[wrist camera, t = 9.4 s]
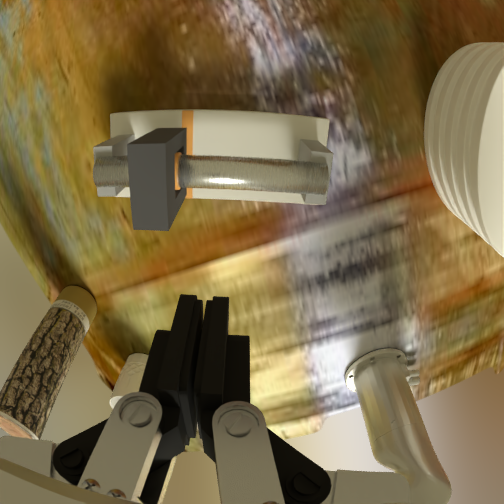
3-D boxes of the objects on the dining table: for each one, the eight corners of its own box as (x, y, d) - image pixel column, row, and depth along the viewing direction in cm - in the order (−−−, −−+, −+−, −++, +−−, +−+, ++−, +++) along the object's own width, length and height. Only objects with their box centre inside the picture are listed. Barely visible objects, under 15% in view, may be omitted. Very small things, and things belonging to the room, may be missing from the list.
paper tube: (56, 284, 43) (-20, 407, 21) (88, 281, 43) (13, 419, 21) (73, 317, 46) (13, 439, 25) (104, 315, 46) (48, 450, 24)
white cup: (116, 353, 51) (100, 397, 42) (151, 347, 50) (138, 394, 41) (138, 379, 54) (126, 422, 46) (173, 375, 53) (164, 420, 45)
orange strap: (193, 110, 30) (176, 118, 23) (192, 198, 35) (178, 229, 28) (182, 110, 30) (162, 118, 23) (182, 197, 35) (165, 229, 28)
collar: (186, 127, 28) (165, 143, 21) (186, 194, 32) (168, 230, 24) (157, 128, 28) (127, 144, 21) (159, 193, 32) (133, 229, 24)
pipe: (322, 159, 28) (330, 167, 26) (318, 189, 30) (325, 200, 27) (105, 153, 27) (91, 160, 25) (107, 181, 29) (94, 191, 26)
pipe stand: (326, 118, 32) (347, 128, 25) (315, 200, 37) (331, 229, 30) (115, 112, 31) (83, 122, 24) (119, 192, 36) (92, 219, 29)
